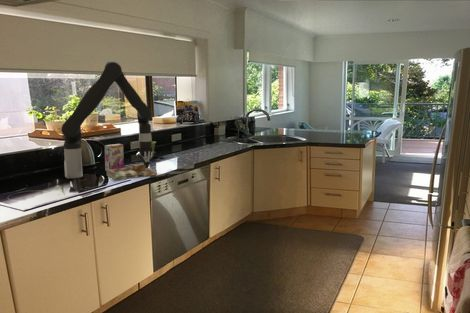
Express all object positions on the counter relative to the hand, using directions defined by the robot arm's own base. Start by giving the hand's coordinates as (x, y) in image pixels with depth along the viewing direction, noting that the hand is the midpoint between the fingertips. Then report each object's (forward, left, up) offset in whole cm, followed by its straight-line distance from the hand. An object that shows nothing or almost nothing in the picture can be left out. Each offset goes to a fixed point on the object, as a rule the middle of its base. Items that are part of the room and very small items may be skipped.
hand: (146, 167), depth 250 cm
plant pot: (+20, +47, -3) cm, 51 cm away
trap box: (-11, -2, -3) cm, 11 cm away
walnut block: (-5, 0, -1) cm, 5 cm away
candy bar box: (-15, +17, -3) cm, 22 cm away
